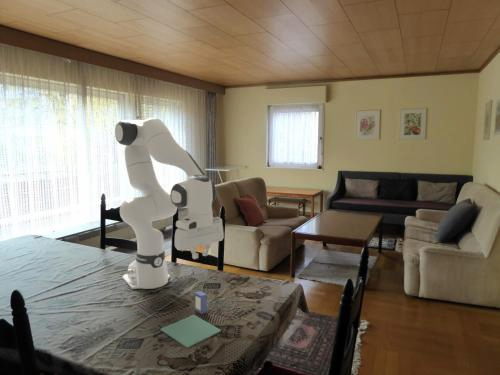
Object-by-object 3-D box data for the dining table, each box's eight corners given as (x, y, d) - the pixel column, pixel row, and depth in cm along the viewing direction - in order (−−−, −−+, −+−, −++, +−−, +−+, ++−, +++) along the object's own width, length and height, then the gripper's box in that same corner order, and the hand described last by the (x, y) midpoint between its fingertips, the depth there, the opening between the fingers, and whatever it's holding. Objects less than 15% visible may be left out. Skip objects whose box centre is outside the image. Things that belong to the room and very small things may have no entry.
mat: (160, 329, 123) (160, 328, 122) (193, 315, 133) (193, 314, 133) (187, 348, 112) (187, 347, 112) (221, 331, 122) (221, 330, 122)
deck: (194, 310, 137) (194, 292, 136) (199, 308, 138) (199, 290, 137) (201, 314, 134) (201, 296, 133) (206, 311, 136) (206, 294, 135)
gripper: (216, 214, 141) (216, 248, 143) (171, 223, 126) (172, 261, 128) (227, 217, 136) (227, 252, 138) (182, 226, 122) (182, 265, 124)
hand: (200, 256), depth 133 cm, fingers open, 3 cm apart
